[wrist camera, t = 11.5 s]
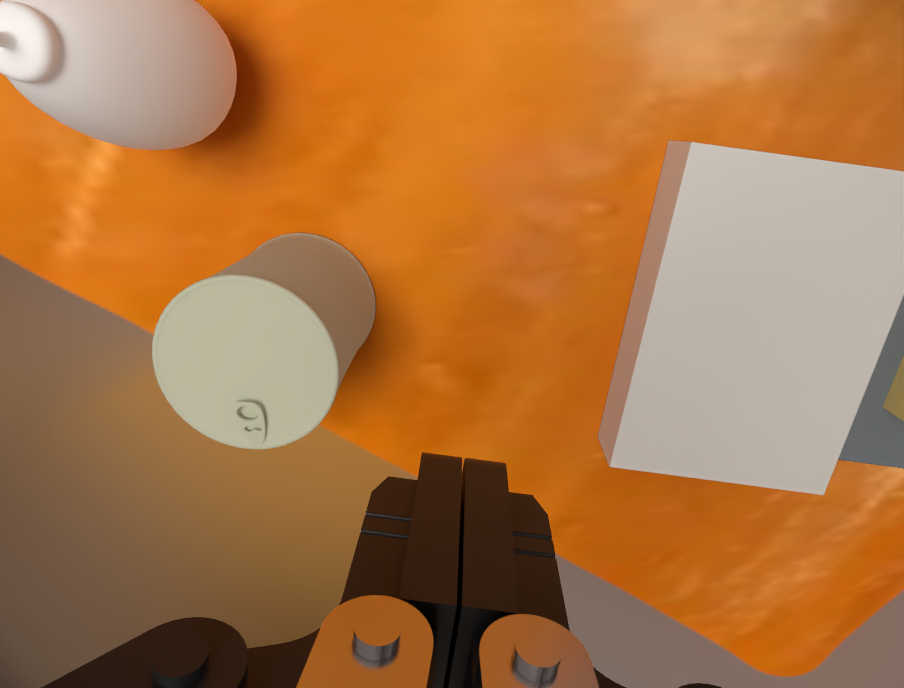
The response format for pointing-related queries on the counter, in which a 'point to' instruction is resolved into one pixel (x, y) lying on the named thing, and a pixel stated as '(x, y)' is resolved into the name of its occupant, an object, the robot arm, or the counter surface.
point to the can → (265, 341)
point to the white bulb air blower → (121, 67)
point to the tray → (879, 409)
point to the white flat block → (755, 316)
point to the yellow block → (896, 394)
